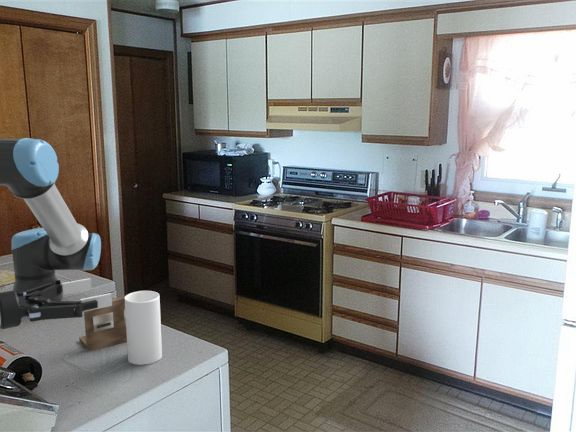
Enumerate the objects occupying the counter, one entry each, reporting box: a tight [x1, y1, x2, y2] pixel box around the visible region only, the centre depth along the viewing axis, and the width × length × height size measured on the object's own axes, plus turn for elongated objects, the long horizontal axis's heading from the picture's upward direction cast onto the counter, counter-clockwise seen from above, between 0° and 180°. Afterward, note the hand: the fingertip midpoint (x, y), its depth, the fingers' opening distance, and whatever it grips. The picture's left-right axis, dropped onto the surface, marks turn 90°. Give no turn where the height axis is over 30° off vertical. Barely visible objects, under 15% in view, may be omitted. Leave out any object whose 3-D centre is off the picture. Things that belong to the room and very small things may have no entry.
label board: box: [78, 295, 127, 352], centre depth 138 cm, size 16×8×12 cm, turn 128°
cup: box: [124, 290, 163, 366], centre depth 128 cm, size 8×8×16 cm
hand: (100, 291), depth 119 cm, fingers open, 13 cm apart
